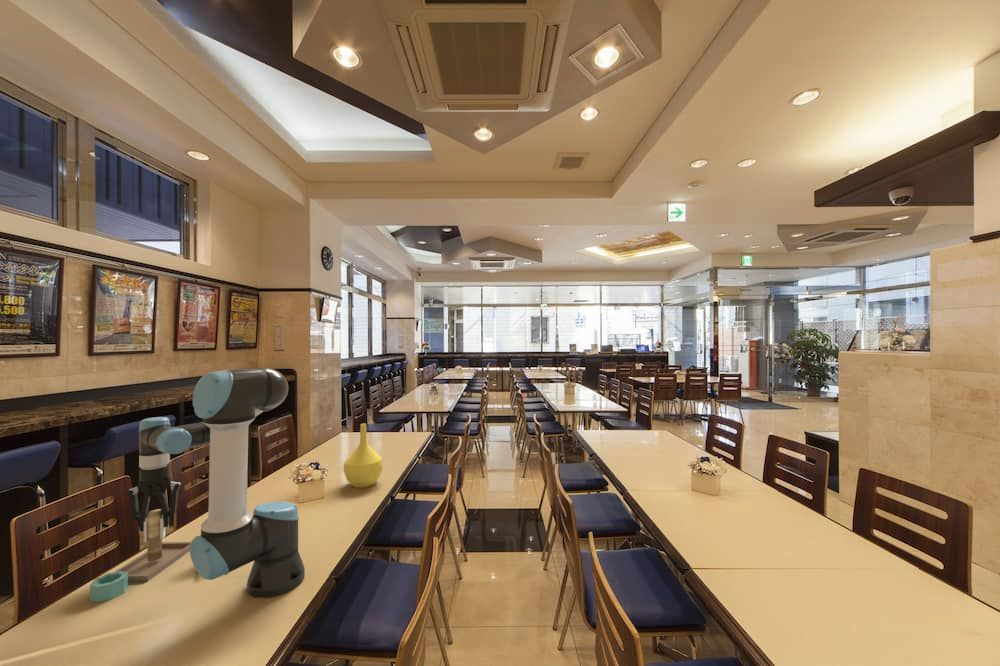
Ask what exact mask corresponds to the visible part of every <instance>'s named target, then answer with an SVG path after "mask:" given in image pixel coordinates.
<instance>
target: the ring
mask: <svg viewBox="0 0 1000 666" xmlns="http://www.w3.org/2000/svg"><path fill="white" fill-rule="evenodd" d="M128 587H129V582H128V572H124V571H117V572H115V571H112V572H108V573H106V574H103V575H101V576H100V577H96V578H95V579H94V580H93V581H92V582H91V583H90V584H89V600H90V602H94V603H101V602H105V601H109V600H112V599H113V600H114V599H115V598H117V597H119V596H121V595H122V594H124V593H125V592H126V591H127V589H128Z"/></svg>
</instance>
